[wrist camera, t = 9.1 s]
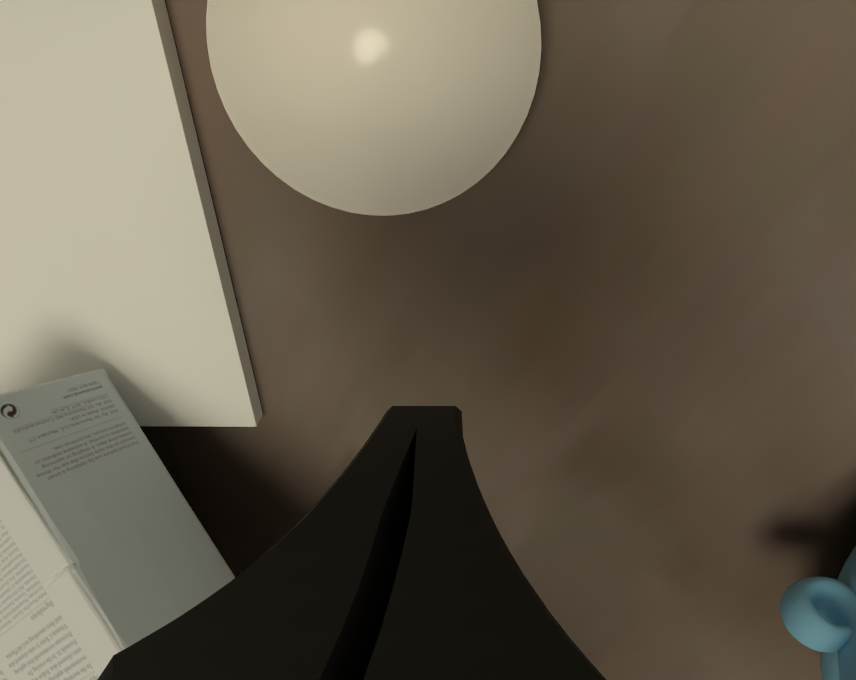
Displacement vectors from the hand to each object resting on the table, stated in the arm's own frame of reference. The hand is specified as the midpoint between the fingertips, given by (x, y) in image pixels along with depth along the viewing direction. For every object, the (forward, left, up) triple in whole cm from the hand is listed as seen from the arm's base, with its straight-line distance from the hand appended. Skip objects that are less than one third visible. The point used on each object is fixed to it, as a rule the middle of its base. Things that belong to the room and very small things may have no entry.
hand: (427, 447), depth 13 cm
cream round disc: (+6, +2, -10) cm, 12 cm away
